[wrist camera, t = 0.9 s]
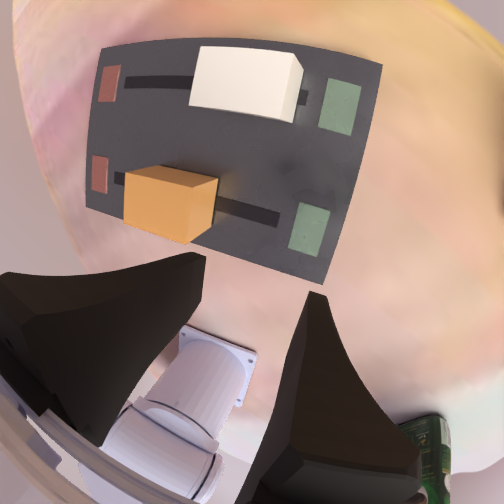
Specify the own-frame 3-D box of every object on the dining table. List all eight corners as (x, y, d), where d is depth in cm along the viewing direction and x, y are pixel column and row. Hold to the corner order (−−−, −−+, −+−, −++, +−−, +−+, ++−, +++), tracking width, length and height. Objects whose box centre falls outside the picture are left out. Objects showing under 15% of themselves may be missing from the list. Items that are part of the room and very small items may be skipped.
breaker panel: (324, 275, 20) (322, 285, 19) (96, 202, 25) (85, 207, 23) (379, 70, 14) (382, 64, 12) (112, 51, 18) (100, 48, 17)
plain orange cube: (210, 227, 20) (185, 244, 17) (153, 209, 21) (123, 223, 18) (218, 178, 18) (192, 187, 15) (157, 165, 19) (125, 172, 16)
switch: (292, 123, 15) (279, 119, 12) (215, 109, 16) (188, 105, 13) (303, 69, 14) (293, 53, 11) (226, 60, 15) (200, 46, 12)
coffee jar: (386, 455, 27) (368, 575, 10) (364, 432, 26) (338, 576, 9) (453, 431, 22) (455, 559, 6) (442, 403, 21) (448, 561, 5)
